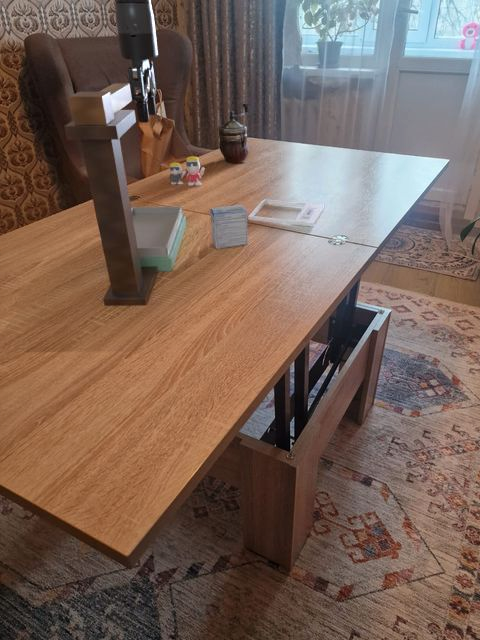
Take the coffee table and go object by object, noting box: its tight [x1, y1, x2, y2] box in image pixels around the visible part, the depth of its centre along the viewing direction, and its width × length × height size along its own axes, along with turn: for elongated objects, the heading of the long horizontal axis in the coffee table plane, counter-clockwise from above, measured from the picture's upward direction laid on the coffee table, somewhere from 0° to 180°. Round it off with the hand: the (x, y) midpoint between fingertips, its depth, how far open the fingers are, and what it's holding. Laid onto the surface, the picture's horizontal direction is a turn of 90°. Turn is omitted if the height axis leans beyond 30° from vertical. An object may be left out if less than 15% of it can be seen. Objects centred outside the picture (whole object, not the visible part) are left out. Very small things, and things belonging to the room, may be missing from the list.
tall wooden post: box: [63, 109, 159, 307], centre depth 89 cm, size 8×14×32 cm, turn 1°
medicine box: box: [209, 204, 249, 250], centre depth 114 cm, size 8×4×9 cm, turn 108°
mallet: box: [68, 82, 133, 125], centre depth 83 cm, size 5×24×4 cm, turn 1°
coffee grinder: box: [218, 103, 250, 164], centre depth 175 cm, size 13×15×18 cm
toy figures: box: [168, 156, 206, 187], centre depth 154 cm, size 12×4×8 cm, turn 79°
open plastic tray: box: [104, 206, 187, 272], centre depth 114 cm, size 14×27×5 cm, turn 1°
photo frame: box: [247, 198, 326, 228], centre depth 132 cm, size 15×1×18 cm
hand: (147, 118), depth 106 cm, fingers open, 8 cm apart
